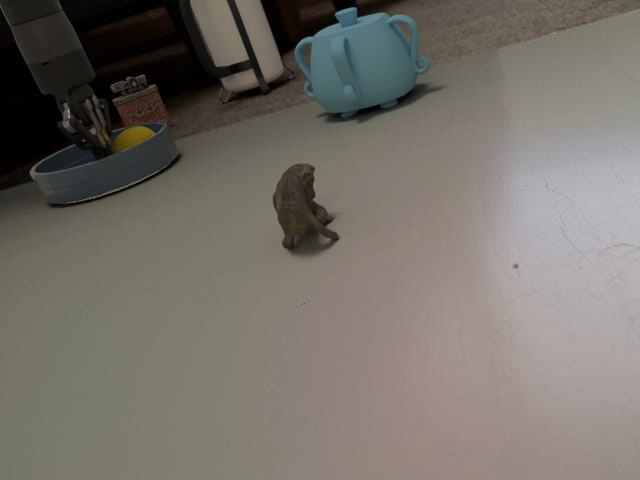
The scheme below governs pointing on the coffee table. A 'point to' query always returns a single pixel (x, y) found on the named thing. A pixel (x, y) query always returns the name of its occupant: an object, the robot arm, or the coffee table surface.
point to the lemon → (131, 138)
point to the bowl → (102, 166)
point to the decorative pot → (361, 62)
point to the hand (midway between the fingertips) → (112, 172)
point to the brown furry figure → (299, 204)
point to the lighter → (140, 102)
